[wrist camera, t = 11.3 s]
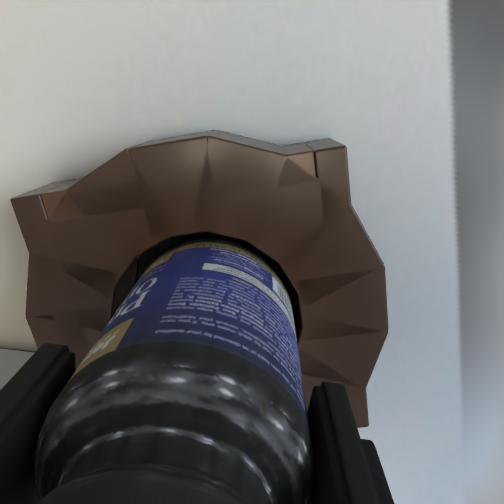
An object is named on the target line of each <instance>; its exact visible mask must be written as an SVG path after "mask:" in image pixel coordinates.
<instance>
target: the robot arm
mask: <svg viewBox="0 0 504 504" xmlns="http://www.w3.org/2000/svg"><path fill="white" fill-rule="evenodd" d="M75 361H76V357H75V353H74V352H70V351H69V347H68V346H67V345H59V344H52V343H44V344H43V345H41V347H40V348H39V349H38V350H37V351H36V352H35V353H34V354H33V355H32V356H31V357H30V358H29V360H28V361H27V362H26V363H25V364H24V365H23V366H22V367H21V368H20V369H19V370H18V372H17V373H16V374H15V375H14V376H13V377H12V378H11V379H10V380H9V381H8V382H7V384H6V385H5V386H4V387H3V388H2V389H1V390H0V504H38V503H39V501H40V499H39V497H38V492H37V488H36V484H35V468H34V455H35V448H36V444H37V440H38V436H39V434H40V430H41V426H42V424H43V423H44V420H45V418H46V415H47V413H48V411H49V408H50V407H51V406H52V404H53V403H54V401H55V400H56V398H57V397H58V395H59V394H60V393H61V391H62V390H63V388H64V387H65V386H66V384H67V383H68V381H69V380H70V378H71V377H72V376H73V374H74V373H75ZM307 415H308V422H309V429H310V435H311V444H312V448H313V459H314V471H315V473H314V480H313V489H312V495H311V498H310V501H309V504H394V502H393V499H392V496H391V493H390V490H389V487H388V484H387V481H386V478H385V475H384V472H383V469H382V466H381V463H380V460H379V457H378V454H377V451H376V448H375V446H374V443H373V442H372V441H371V440H365V439H360V436H359V432H358V429H357V426H356V422H355V419H354V415H353V412H352V409H351V405H350V402H349V399H348V395H347V392H346V389H345V386H344V384H340V383H333V382H326V381H323V382H322V383H321V385H320V386H314V387H313V390H312V394H311V398H310V403H309V407H308V411H307Z"/></svg>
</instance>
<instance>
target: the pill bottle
mask: <svg viewBox="0 0 504 504" xmlns="http://www.w3.org/2000/svg"><path fill="white" fill-rule="evenodd" d="M34 468H35V484H36V488H37V492H38V497H39V499H40V501H39V503H38V504H309V501H310V498H311V495H312V489H313V480H314V473H315V471H314V459H313V448H312V444H311V435H310V429H309V422H308V415H307V408H306V402H305V395H304V388H303V381H302V374H301V367H300V360H299V353H298V346H297V339H296V332H295V325H294V319H293V313H292V306H291V300H290V296H289V293H288V291H287V288H286V286H285V284H284V282H283V280H282V279H281V277H280V275H279V273H278V272H277V270H276V269H275V267H274V266H273V265H272V264H271V263H270V262H269V261H267V260H266V259H264V258H263V257H262V256H261V255H259V254H258V253H257V252H256V251H254V250H252V249H250V248H248V247H247V246H245V245H242V244H239V243H236V242H233V241H231V240H226V239H220V238H198V239H194V240H191V241H187V242H184V243H182V244H179V245H177V246H175V247H173V248H170V249H168V250H166V251H164V252H162V253H161V254H159V255H158V256H156V257H155V259H154V260H153V261H152V262H151V264H150V265H149V266H148V267H147V268H146V269H145V271H144V272H143V274H142V276H141V277H140V278H139V280H138V281H137V283H136V284H135V285H134V287H133V288H132V290H131V291H130V293H129V294H128V296H127V297H126V298H125V300H124V301H123V303H122V304H121V306H120V307H119V308H118V310H117V311H116V313H115V314H114V316H113V317H112V319H111V320H110V322H109V323H108V325H107V326H106V327H105V329H104V331H103V332H102V333H101V335H100V336H99V338H98V339H97V341H96V342H95V344H94V345H93V346H92V348H91V349H90V351H89V352H88V354H87V355H86V357H85V358H84V360H83V361H82V362H81V364H80V365H79V367H78V368H77V370H76V371H75V373H74V374H73V376H72V377H71V378H70V380H69V381H68V383H67V384H66V386H65V387H64V388H63V390H62V391H61V393H60V394H59V395H58V397H57V398H56V400H55V401H54V403H53V404H52V406H51V407H50V408H49V411H48V413H47V415H46V418H45V420H44V423H43V424H42V426H41V430H40V434H39V436H38V440H37V444H36V448H35V455H34Z"/></svg>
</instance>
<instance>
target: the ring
mask: <svg viewBox="0 0 504 504" xmlns="http://www.w3.org/2000/svg"><path fill="white" fill-rule="evenodd" d="M10 200H11V203H12V206H13V209H14V212H15V214H16V217H17V220H18V223H19V225H20V228H21V231H22V234H23V237H24V239H25V242H26V245H27V248H28V251H29V267H28V283H27V300H26V318H27V321H28V324H29V326H30V329H31V331H32V334H33V337H34V339H35V342H36V345H37V347H38V349H39V348H40V347H41V345H43V344H44V343H52V344H59V345H67V346H68V347H69V351H70V352H74V353H75V357H76V361H75V371H76V370H77V368H78V367H79V365H80V364H81V362H82V361H83V360H84V358H85V357H86V355H87V354H88V352H89V351H90V349H91V348H92V346H93V345H94V344H95V342H96V341H97V339H98V338H99V336H100V335H101V333H102V332H103V331H104V329H105V327H106V326H107V325H108V323H109V322H110V320H111V319H112V317H113V316H114V314H115V313H116V311H117V310H118V308H119V307H120V306H121V304H122V303H123V301H124V300H125V298H126V297H127V296H128V294H129V293H130V291H131V290H132V288H133V287H134V283H135V277H136V271H137V264H138V258H139V256H140V255H141V253H143V252H145V251H146V250H148V249H150V248H151V247H153V246H154V245H156V244H158V243H159V242H161V241H163V240H164V239H166V238H168V237H174V236H180V235H187V234H194V233H200V232H211V233H215V234H219V235H223V236H228V237H232V238H236V239H241V240H245V241H247V242H249V243H250V244H251V245H253V246H254V247H256V248H257V249H259V250H260V251H261V252H263V253H264V254H266V255H267V256H269V257H270V258H272V259H273V260H274V261H276V262H277V263H279V265H280V266H281V268H282V270H283V271H284V273H285V274H286V276H287V278H288V279H289V281H290V282H291V284H292V285H293V287H294V289H295V291H296V294H295V297H294V301H293V304H292V313H293V319H294V325H295V332H296V339H297V346H298V353H299V360H300V367H301V374H302V381H303V388H304V395H305V402H306V408H307V411H308V407H309V403H310V398H311V394H312V390H313V387H314V386H320V385H321V383H322V382H323V381H326V382H333V383H340V384H344V386H345V389H346V392H347V395H348V399H349V402H350V405H351V409H352V412H353V415H354V419H355V422H356V426H357V428H360V427H368V425H369V420H368V408H367V395H366V386H367V384H368V381H369V379H370V376H371V374H372V371H373V369H374V366H375V364H376V361H377V359H378V356H379V354H380V351H381V349H382V346H383V344H384V341H385V339H386V336H387V334H388V315H387V297H386V279H385V267H384V263H383V262H382V260H381V258H380V256H379V254H378V252H377V251H376V249H375V247H374V245H373V243H372V241H371V240H370V238H369V236H368V234H367V232H366V230H365V228H364V227H363V225H362V223H361V221H360V219H359V217H358V216H357V214H356V212H355V210H354V208H353V206H352V205H351V197H350V184H349V172H348V159H347V148H346V146H345V145H343V144H341V143H339V142H337V141H334V140H332V139H330V138H328V139H322V140H315V141H309V142H306V143H305V144H304V143H296V144H290V145H284V146H279V145H275V144H271V143H267V142H263V141H259V140H255V139H251V138H247V137H243V136H239V135H235V134H231V133H227V132H223V131H219V130H217V131H215V130H212V131H206V132H200V133H194V134H188V135H182V136H176V137H170V138H164V139H158V140H152V141H149V142H146V143H143V144H140V145H137V146H134V147H131V148H128V149H125V150H124V151H122V152H121V153H119V154H118V155H116V156H115V157H113V158H112V159H110V160H109V161H107V162H106V163H104V164H103V165H101V166H100V167H98V168H97V169H95V170H94V171H92V172H91V173H89V174H88V175H86V176H85V177H83V178H79V179H72V180H66V181H60V182H54V183H51V184H48V185H45V186H43V187H40V188H37V189H35V190H32V191H30V192H27V193H24V194H22V195H19V196H16V197H14V198H11V199H10Z"/></svg>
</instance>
